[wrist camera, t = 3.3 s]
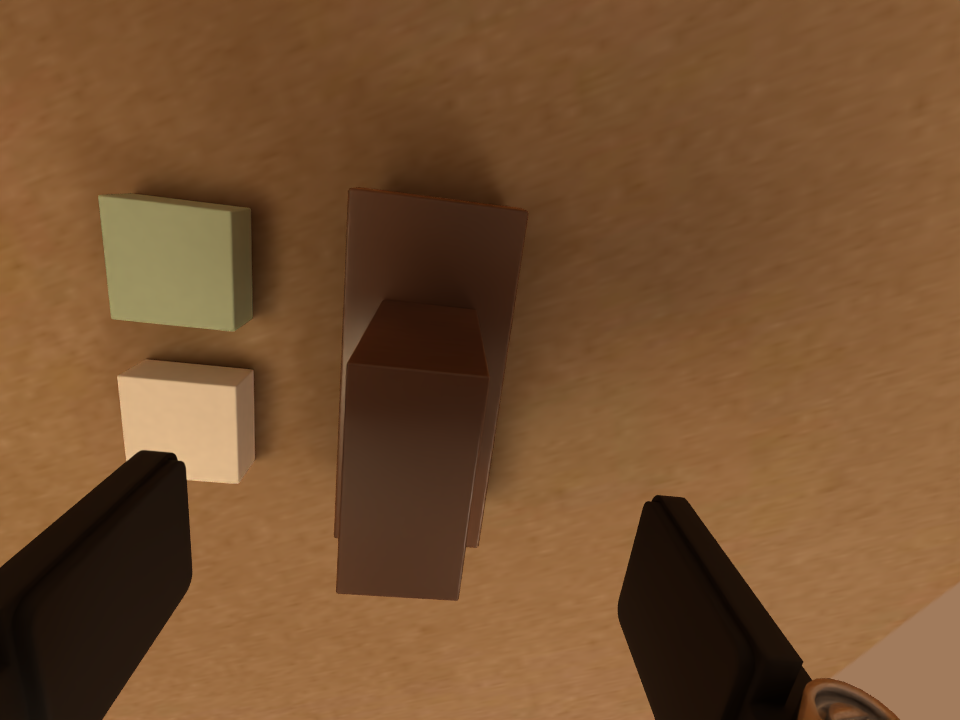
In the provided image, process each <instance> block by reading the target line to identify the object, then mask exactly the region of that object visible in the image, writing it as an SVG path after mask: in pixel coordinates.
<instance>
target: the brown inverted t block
mask: <svg viewBox="0 0 960 720" xmlns="http://www.w3.org/2000/svg"><path fill="white" fill-rule="evenodd" d="M527 220H528V211H526V210H524V209H522V208H516V207H508V206H501V205H493V204H485V203H477V202H470V201H462V200H454V199H447V198H439V197H431V196H423V195H416V194H408V193H400V192H392V191H385V190H377V189H369V188H361V187H356V188H349V190H348V212H347V236H346V260H345V284H344V307H343V331H342V355H341V379H340V403H339V427H338V451H337V475H336V499H335V523H334V537H335V538H338V559H337V581H336V592H337V593H338V594H352V595H369V596H386V597H403V598H420V599H437V600H454V601H457V600H458V599H459V593H460V586H461V579H462V572H463V565H464V558H465V551H466V547H474V548H477V547H478V546H479V540H480V533H481V526H482V520H483V513H484V506H485V500H486V493H487V486H488V480H489V473H490V466H491V460H492V453H493V446H494V440H495V433H496V426H497V420H498V413H499V406H500V400H501V393H502V386H503V380H504V373H505V366H506V360H507V353H508V347H509V340H510V333H511V327H512V320H513V313H514V307H515V300H516V293H517V287H518V280H519V273H520V267H521V260H522V253H523V247H524V240H525V233H526V227H527Z"/></svg>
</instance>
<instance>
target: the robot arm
mask: <svg viewBox="0 0 960 720" xmlns="http://www.w3.org/2000/svg"><path fill="white" fill-rule="evenodd" d="M191 579H192V557H191V541H190V525H189V509H188V493H187V477H186V466H185V463H184V462H183V461H178V459H177V456H176V454H174V453H172V452H160V451H149V450H141V451H139V452H137V453H136V454H135V455H133V456H132V457H131V458H130V459H129V460H128V461H126V462H125V463H124V464H123V465H122V466H120V467H119V468H118V469H117V470H116V471H114V472H113V473H112V474H111V475H110V476H109V477H107V478H106V479H105V480H104V481H103V482H101V483H100V484H99V485H98V486H97V487H95V488H94V489H93V490H92V491H91V492H90V493H88V494H87V495H86V496H85V497H84V498H82V499H81V500H80V501H79V502H78V503H76V504H75V505H74V506H73V507H72V508H70V509H69V510H68V511H67V512H66V513H65V514H63V515H62V516H61V517H60V518H59V519H57V520H56V521H55V522H54V523H53V524H51V525H50V526H49V527H48V528H47V529H46V530H44V531H43V532H42V533H41V534H40V535H38V536H37V537H36V538H35V539H34V540H32V541H31V542H30V543H29V544H28V545H27V546H25V547H24V548H23V549H22V550H21V551H19V552H18V553H17V554H16V555H15V556H13V557H12V558H11V559H10V560H9V561H7V562H6V563H5V564H4V565H3V566H2V567H0V720H102V719H103V717H104V716H105V714H106V713H107V711H108V710H109V708H110V707H111V705H112V704H113V702H114V701H115V699H116V698H117V696H118V695H119V693H120V692H121V690H122V689H123V687H124V686H125V684H126V683H127V681H128V680H129V678H130V677H131V675H132V674H133V672H134V671H135V669H136V668H137V666H138V665H139V663H140V662H141V660H142V659H143V657H144V656H145V654H146V653H147V651H148V650H149V648H150V647H151V645H152V644H153V642H154V641H155V639H156V637H157V636H158V634H159V633H160V631H161V630H162V628H163V627H164V625H165V624H166V622H167V621H168V619H169V618H170V616H171V615H172V613H173V612H174V610H175V609H176V607H177V606H178V604H179V603H180V601H181V600H182V598H183V597H184V595H185V594H186V592H187V590H188V588H189V586H190V583H191ZM618 618H619V622H620V625H621V627H622V630H623V633H624V635H625V638H626V641H627V644H628V646H629V649H630V652H631V654H632V657H633V660H634V663H635V665H636V668H637V671H638V674H639V676H640V679H641V682H642V684H643V687H644V690H645V693H646V695H647V698H648V701H649V703H650V706H651V709H652V712H653V714H654V717H655V720H900V719H899V718H898V717H897V716H896V715H895V714H894V713H893V712H892V711H890V710H889V709H888V708H887V707H886V706H885V705H883V704H882V703H881V702H880V701H879V700H877V699H875V698H874V697H872V696H871V695H869V694H868V693H866V692H864V691H863V690H861V689H859V688H857V687H854V686H852V685H850V684H848V683H845V682H842V681H838V680H834V679H830V678H820V679H815V680H813V681H812V679H811V678H810V676H809V675H808V674H807V672H806V671H805V669H804V668H803V667H802V664H803V661H802V659H801V658H800V657H799V655H798V654H797V652H796V651H795V650H794V648H793V647H792V645H791V644H790V643H789V641H788V640H787V638H786V637H785V636H784V634H783V633H782V632H781V630H780V629H779V627H778V626H777V625H776V623H775V622H774V620H773V619H772V618H771V616H770V615H769V613H768V612H767V611H766V609H765V608H764V607H763V605H762V604H761V602H760V601H759V600H758V598H757V597H756V595H755V594H754V593H753V591H752V590H751V589H750V587H749V586H748V584H747V583H746V582H745V580H744V579H743V577H742V576H741V575H740V573H739V572H738V570H737V569H736V568H735V566H734V565H733V564H732V562H731V561H730V559H729V558H728V557H727V555H726V554H725V552H724V551H723V550H722V548H721V547H720V546H719V544H718V543H717V541H716V540H715V539H714V537H713V536H712V534H711V533H710V532H709V530H708V529H707V527H706V526H705V525H704V523H703V522H702V521H701V519H700V518H699V516H698V515H697V514H696V512H695V511H694V509H693V508H692V507H691V505H690V504H689V503H688V501H687V500H686V499H685V498H682V497H673V496H661V495H657V496H655V497H654V498H653V499H652V502H650V501H647V502H646V503H645V504H644V506H643V510H642V514H641V517H640V521H639V525H638V529H637V533H636V536H635V540H634V544H633V548H632V552H631V555H630V559H629V563H628V567H627V571H626V574H625V578H624V582H623V586H622V590H621V593H620V597H619V601H618Z"/></svg>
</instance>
